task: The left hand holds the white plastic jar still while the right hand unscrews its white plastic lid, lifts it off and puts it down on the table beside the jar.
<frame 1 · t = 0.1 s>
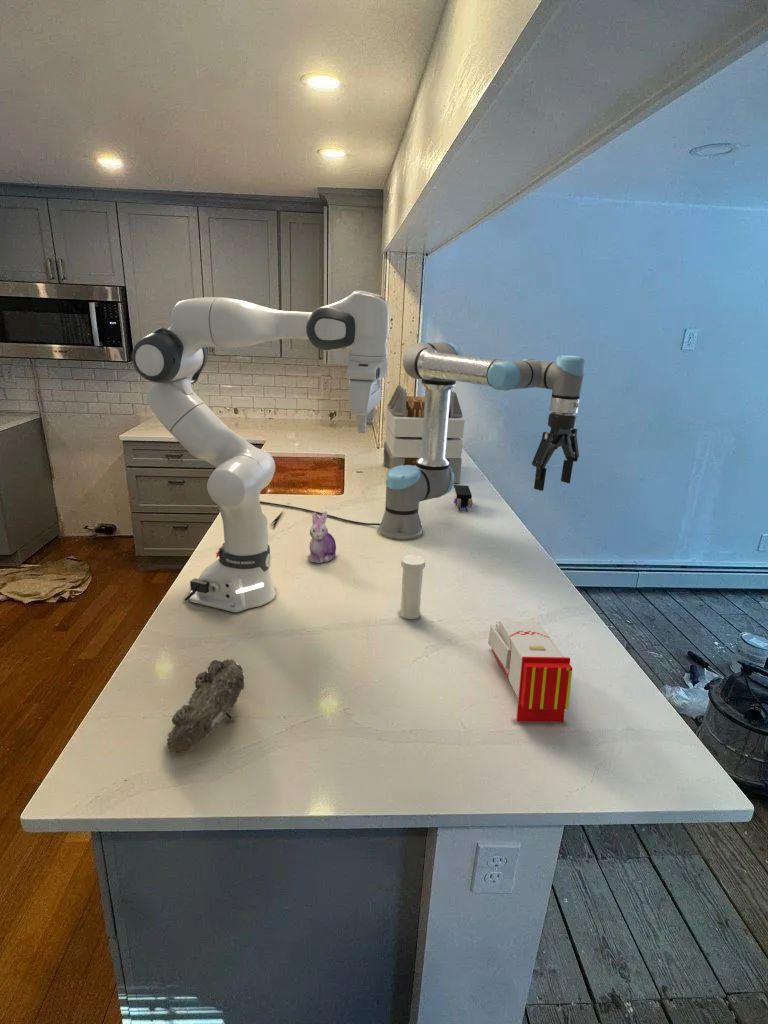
left hand: (365, 428, 133), 48 cm above the counter, tool pointing down, fingers open, 8 cm apart
right hand: (552, 485, 166), 28 cm above the counter, tool pointing down, fingers open, 13 cm apart
jar: (409, 614, 148), on the counter
toy: (521, 679, 123), on the counter
fossil: (212, 717, 108), on the counter
feather: (280, 515, 212), on the counter
figurine character: (461, 507, 230), on the counter
transformer: (419, 473, 275), on the counter
figurine: (322, 558, 178), on the counter
lid: (413, 561, 143), point 15 cm above the counter, screwed on, not yet turned
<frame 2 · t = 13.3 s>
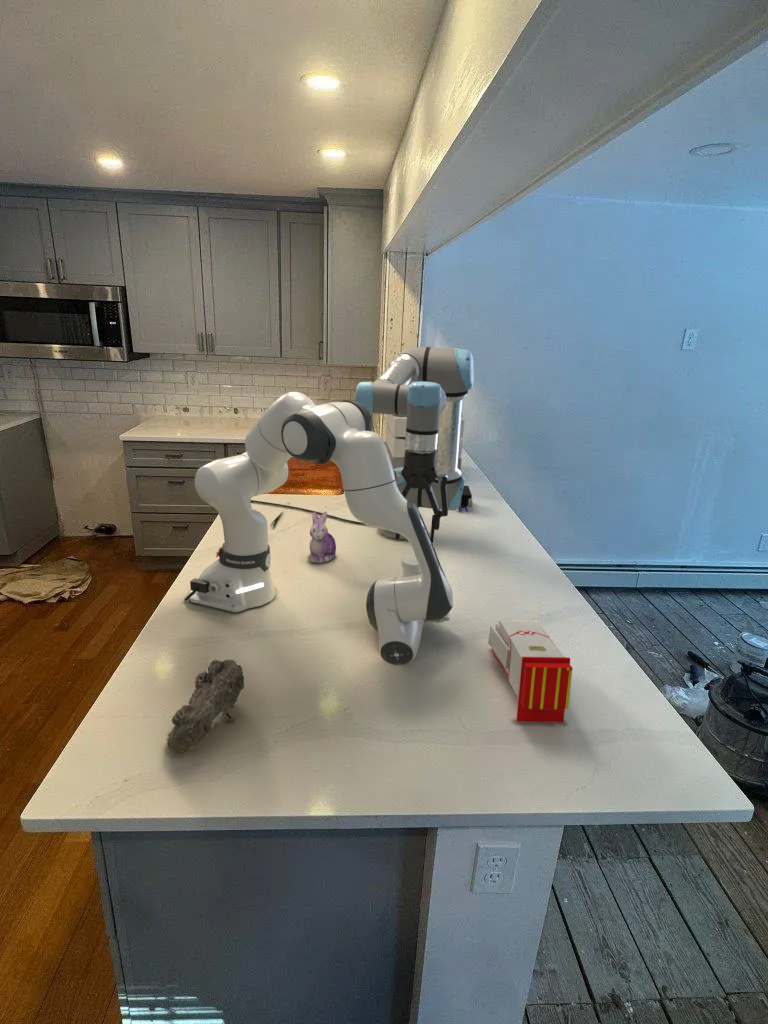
left hand: (411, 590, 146), 7 cm above the counter, tool horizontal, fingers closed on jar, 5 cm apart
right hand: (414, 539, 141), 21 cm above the counter, tool pointing down, fingers open, 8 cm apart
jar: (409, 614, 148), on the counter, touching left hand
everything else where it was.
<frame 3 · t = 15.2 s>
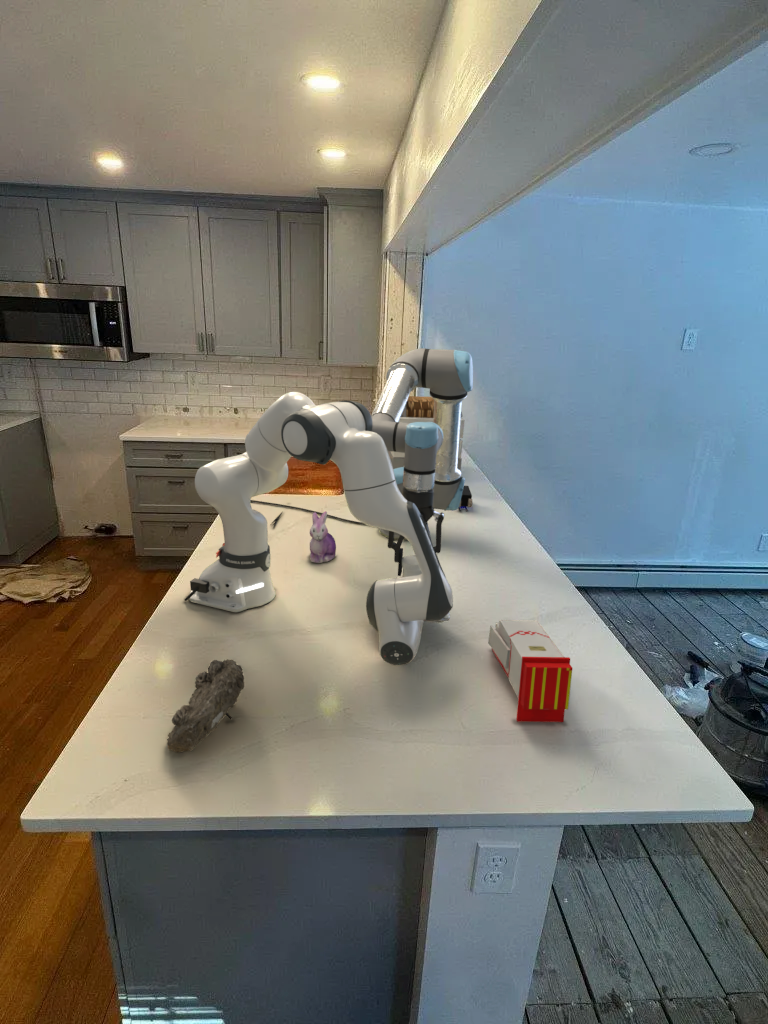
left hand: (411, 590, 146), 7 cm above the counter, tool horizontal, fingers closed on jar, 5 cm apart
right hand: (412, 574, 144), 11 cm above the counter, tool pointing down, fingers closed on lid, 6 cm apart
jar: (409, 614, 148), on the counter, touching left hand
lid: (413, 561, 143), point 15 cm above the counter, screwed on, not yet turned, touching right hand
everything else where it was.
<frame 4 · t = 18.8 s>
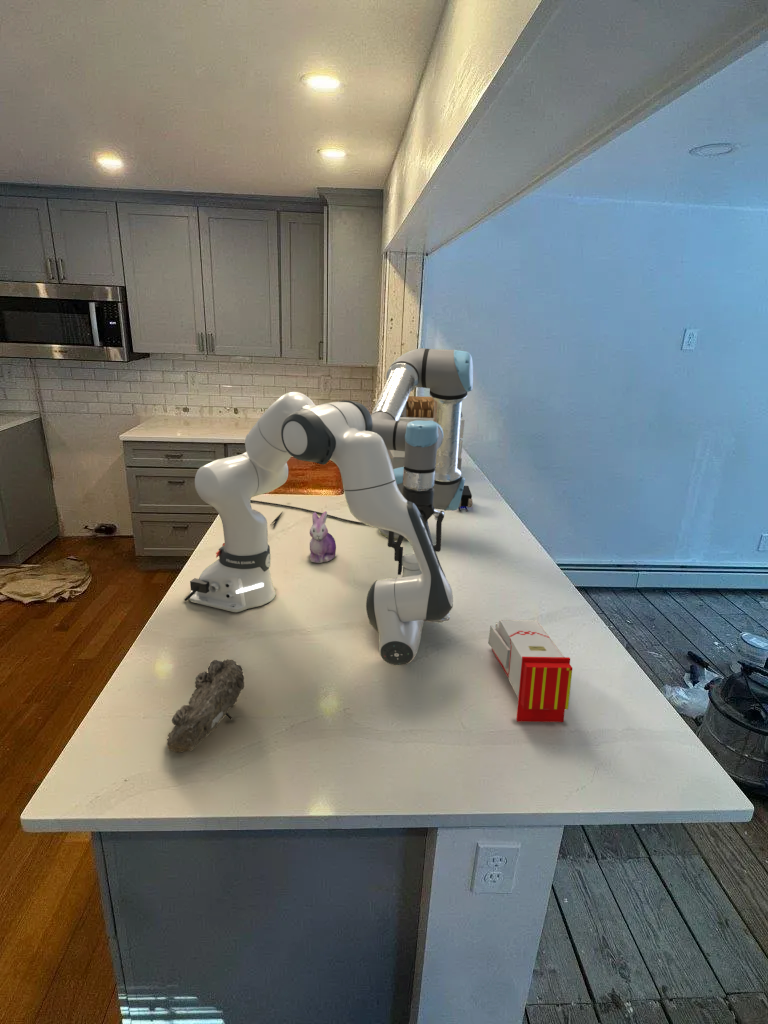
left hand: (411, 589, 146), 7 cm above the counter, tool horizontal, fingers closed on jar, 5 cm apart
right hand: (412, 573, 144), 12 cm above the counter, tool pointing down, fingers closed on lid, 6 cm apart
jar: (409, 614, 148), on the counter, touching left hand
lid: (413, 559, 142), point 16 cm above the counter, turned 117° so far, risen 0.4 cm, still on its thread, touching right hand
everything else where it was.
when the right hand's fingers open (0 cm above the counter, at t = 25.7 s): lid drops 2 cm, point 1 cm above the counter.
when the left hand's fingers open (7 cm above the counter, at t = 26.8 s): jar stays where it is, on the counter.
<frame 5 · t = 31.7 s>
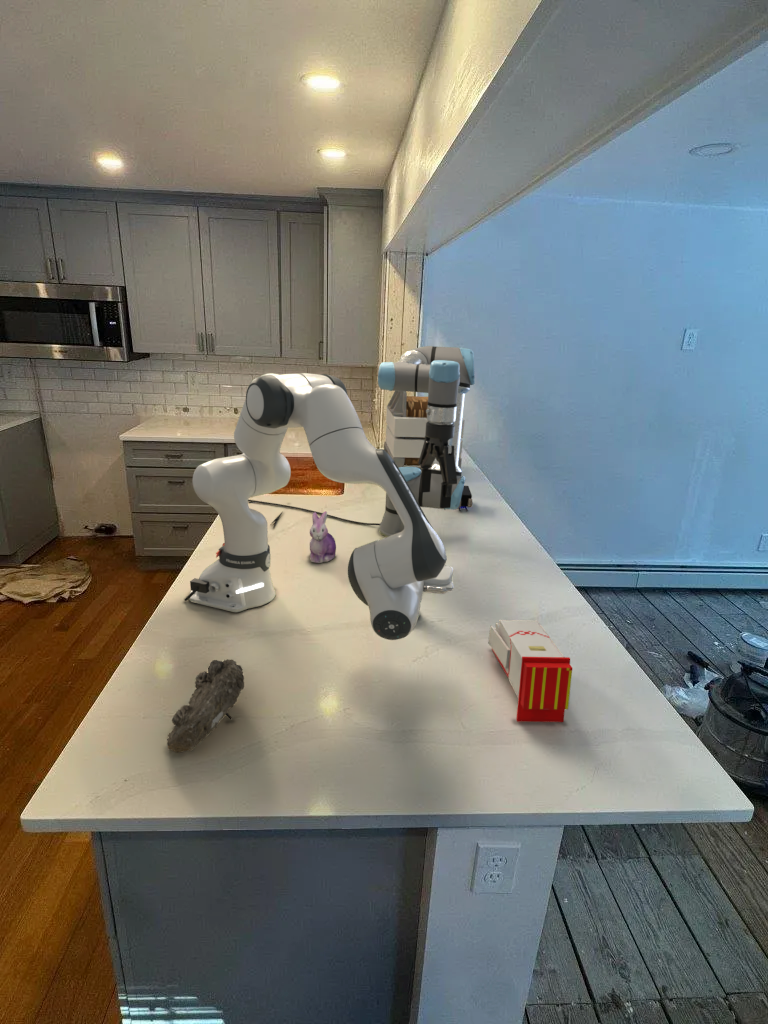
left hand: (409, 559, 129), 21 cm above the counter, tool horizontal, fingers open, 8 cm apart
right hand: (434, 499, 155), 26 cm above the counter, tool pointing down, fingers open, 13 cm apart
jar: (409, 614, 148), on the counter
lid: (428, 581, 163), point 1 cm above the counter, off its thread
everything else where it was.
at the end: lid came off its thread; lid point 1.3 cm above the counter; the left hand is holding nothing; the right hand is holding nothing; jar tilted 0°; jar moved 0.0 cm from its start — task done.
